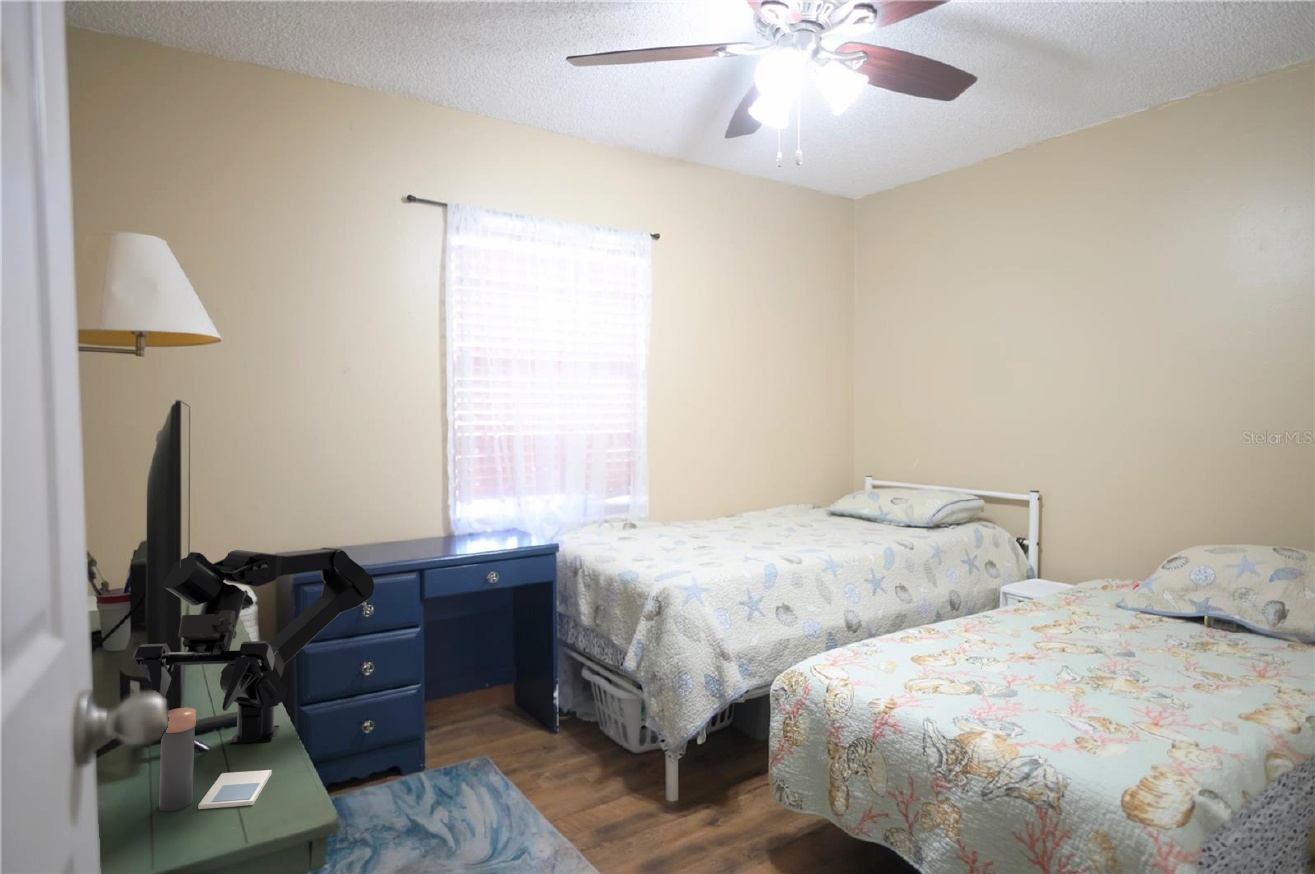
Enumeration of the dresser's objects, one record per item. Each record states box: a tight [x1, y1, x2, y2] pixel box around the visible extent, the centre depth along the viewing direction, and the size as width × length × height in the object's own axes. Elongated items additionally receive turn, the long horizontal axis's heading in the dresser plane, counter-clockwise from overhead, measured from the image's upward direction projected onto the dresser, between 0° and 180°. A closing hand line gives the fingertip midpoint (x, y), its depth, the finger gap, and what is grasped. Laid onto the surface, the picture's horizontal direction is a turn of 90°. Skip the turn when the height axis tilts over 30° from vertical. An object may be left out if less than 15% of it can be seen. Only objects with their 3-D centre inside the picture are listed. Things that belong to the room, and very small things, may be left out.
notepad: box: [197, 769, 273, 810], centre depth 111 cm, size 10×7×1 cm
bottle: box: [158, 707, 197, 813], centre depth 106 cm, size 4×4×13 cm
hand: (190, 711), depth 111 cm, fingers open, 9 cm apart
